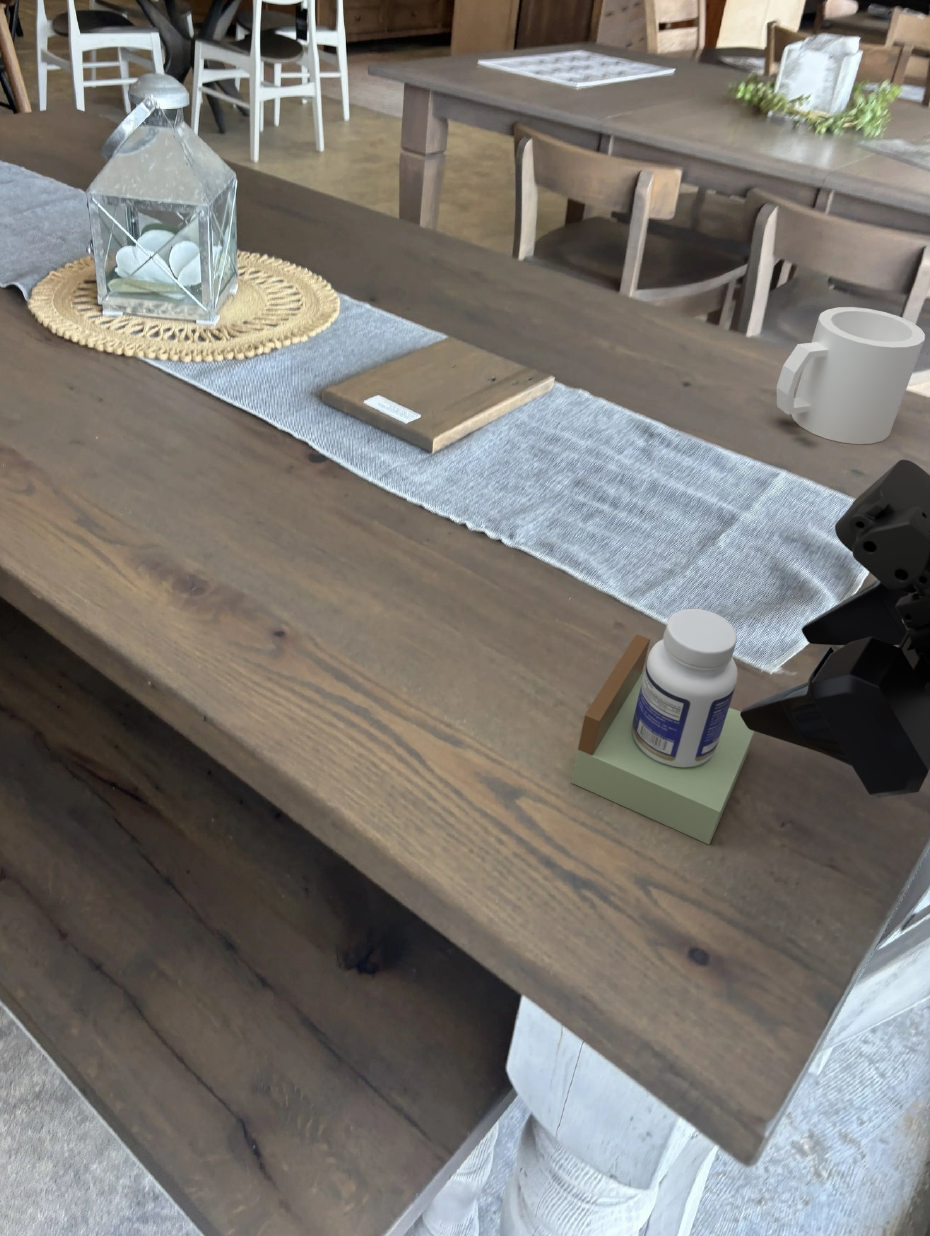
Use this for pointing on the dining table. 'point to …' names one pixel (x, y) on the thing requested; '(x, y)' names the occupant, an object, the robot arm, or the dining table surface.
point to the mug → (851, 374)
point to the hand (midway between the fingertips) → (776, 675)
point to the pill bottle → (686, 689)
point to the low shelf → (640, 780)
